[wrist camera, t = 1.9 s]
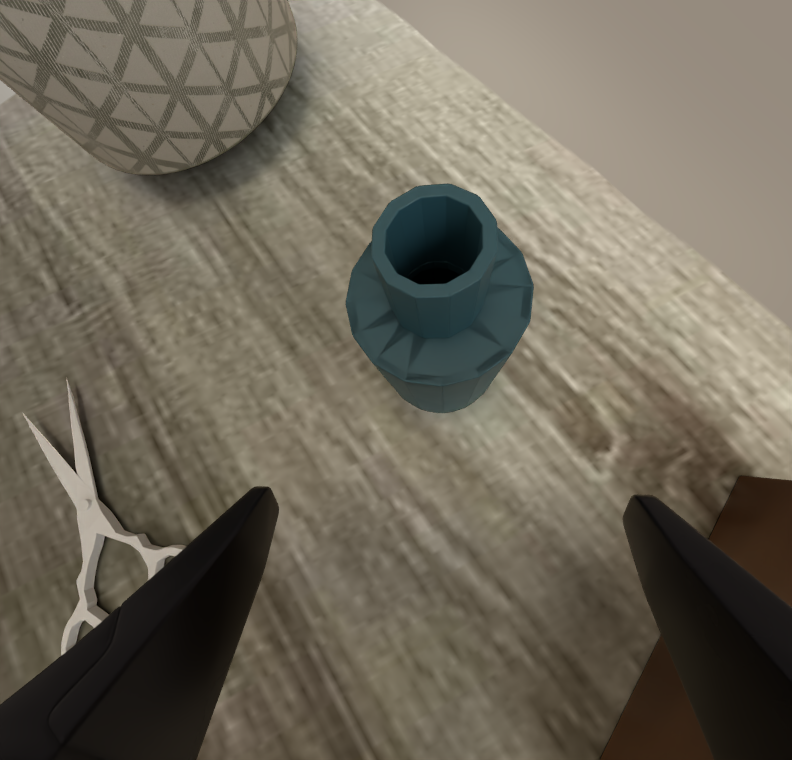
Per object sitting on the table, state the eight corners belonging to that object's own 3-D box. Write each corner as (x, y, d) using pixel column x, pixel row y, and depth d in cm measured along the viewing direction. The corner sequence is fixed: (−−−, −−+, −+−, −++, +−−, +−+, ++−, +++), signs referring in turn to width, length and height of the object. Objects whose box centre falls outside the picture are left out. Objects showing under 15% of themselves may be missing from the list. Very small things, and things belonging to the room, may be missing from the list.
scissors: (81, 713, 21) (-22, 436, 25) (94, 703, 21) (-8, 436, 26) (225, 607, 21) (97, 349, 25) (233, 601, 21) (107, 352, 26)
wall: (603, 832, 17) (676, 1009, 12) (574, 809, 17) (632, 970, 12) (768, 490, 19) (898, 507, 13) (739, 475, 19) (854, 485, 14)
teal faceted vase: (460, 433, 21) (482, 410, 8) (369, 379, 23) (267, 287, 10) (514, 341, 22) (614, 185, 9) (422, 294, 24) (393, 101, 10)
